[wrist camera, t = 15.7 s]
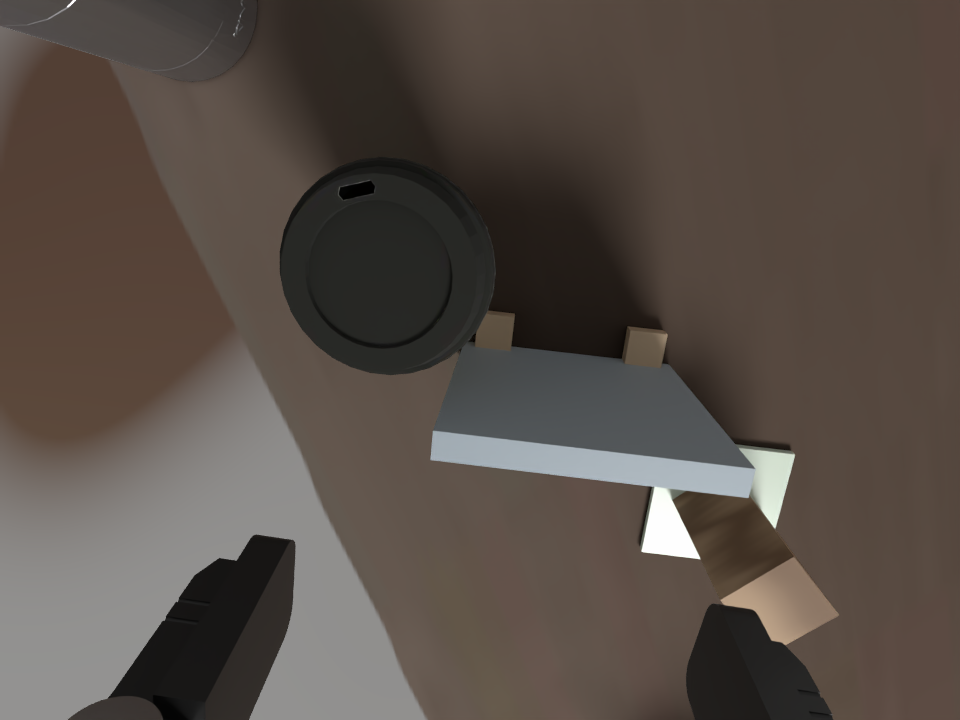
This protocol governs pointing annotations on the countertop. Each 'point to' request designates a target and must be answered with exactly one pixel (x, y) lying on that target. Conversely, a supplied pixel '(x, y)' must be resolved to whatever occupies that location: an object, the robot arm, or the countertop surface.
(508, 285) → the countertop surface
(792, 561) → the brown wooden block
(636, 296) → the countertop surface
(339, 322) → the coffee cup
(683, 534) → the mat
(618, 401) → the screen
